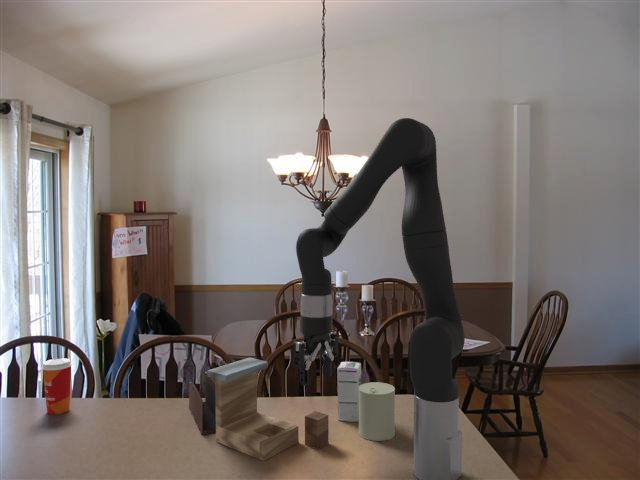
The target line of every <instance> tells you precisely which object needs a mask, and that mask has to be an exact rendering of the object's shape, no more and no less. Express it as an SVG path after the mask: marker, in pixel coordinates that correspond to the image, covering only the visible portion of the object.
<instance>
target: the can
mask: <svg viewBox="0 0 640 480" xmlns="http://www.w3.org/2000/svg"><path fill="white" fill-rule="evenodd" d="M358 389H359V422H358V431H357V432H358V435H359V436H360V437H361V438H363V439H364V440H368V441H374V442H383V441H388V440H391V439H393V438H394V437H395V435H396V430H395V429H396V428H395V417H396V416H395V415H396V414H395V408H396V407H395V405H396V403H395V402H396V401H395V398H396V397H395V396H396V394H395V393H396V388H395V386H393V385H392V384H390V383H385V382H379V381H376V382H374V381H373V382H372V381H371V382H365V383H361V385H360V386H359V388H358Z"/></svg>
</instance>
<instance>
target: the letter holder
mask: <svg viewBox="0 0 640 480" xmlns="http://www.w3.org/2000/svg"><path fill="white" fill-rule="evenodd" d="M227 364H228V363H227V362H226V361H225V360H223V359H220V360H219V367H220V366H223V365H227ZM204 386H205V387H204V389H205V390H204V392H205V396H204V399H205V401H203V399H202V397H201V396H202V395H201V393H200V391H199V390H198V388H197V386H196V385H195V384H194V383H193V382H192V381H189V386H188V387H189V388H188V390H189V391H188V399H189V400H188V408H189V410H190V412H191V414H192V417H193V419H194V422H195V423H196V426H197V428H198V430H199V432H200V434H201V436H204V435H210V434H216V405H215V379H214V378H211V377H208V370H207V371H205V372H204Z"/></svg>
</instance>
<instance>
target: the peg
mask: <svg viewBox="0 0 640 480" xmlns="http://www.w3.org/2000/svg"><path fill="white" fill-rule="evenodd" d="M304 445H305V446H307V447H309V448H314V449H316V450H319V449H322V447H325V446H326V445H329V414H326V413H323V412H320V411H316V410H315V411H312V412H310V413H308V414H306V415H304Z"/></svg>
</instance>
